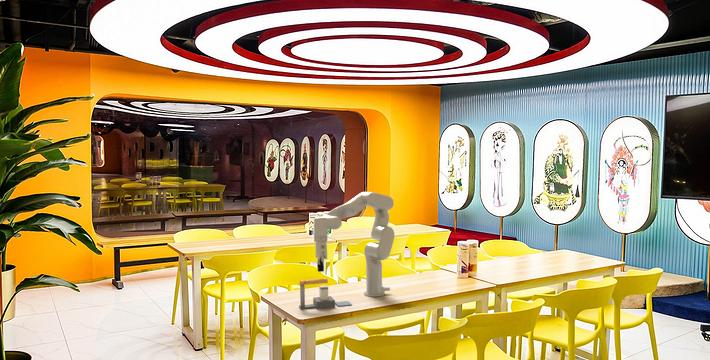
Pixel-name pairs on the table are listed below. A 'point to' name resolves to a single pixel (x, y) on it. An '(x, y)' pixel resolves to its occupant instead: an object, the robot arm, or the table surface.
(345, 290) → the table surface
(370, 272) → the robot arm
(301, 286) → the socket block
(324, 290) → the plug
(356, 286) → the table surface
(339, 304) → the pad
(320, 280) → the latch bar
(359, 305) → the table surface
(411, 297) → the table surface
